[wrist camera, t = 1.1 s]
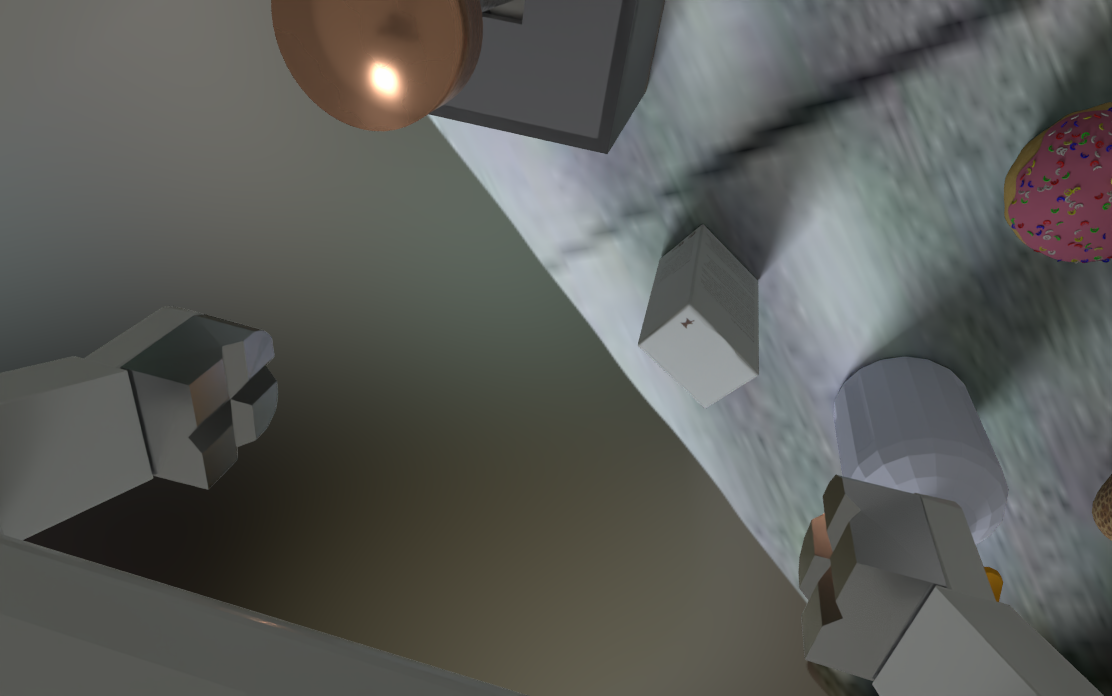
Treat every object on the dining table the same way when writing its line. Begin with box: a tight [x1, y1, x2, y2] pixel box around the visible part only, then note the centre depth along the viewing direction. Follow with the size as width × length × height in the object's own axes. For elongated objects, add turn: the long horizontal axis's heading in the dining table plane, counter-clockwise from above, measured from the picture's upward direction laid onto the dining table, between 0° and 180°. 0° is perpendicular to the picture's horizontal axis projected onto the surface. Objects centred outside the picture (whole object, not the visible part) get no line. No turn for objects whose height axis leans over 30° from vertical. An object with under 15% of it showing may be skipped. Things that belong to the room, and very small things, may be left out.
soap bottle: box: [834, 356, 1009, 602], centre depth 42 cm, size 9×9×25 cm
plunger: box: [271, 0, 525, 131], centre depth 26 cm, size 10×10×15 cm
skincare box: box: [638, 224, 759, 409], centre depth 45 cm, size 6×4×12 cm
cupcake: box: [1004, 102, 1112, 263], centre depth 36 cm, size 9×8×12 cm
